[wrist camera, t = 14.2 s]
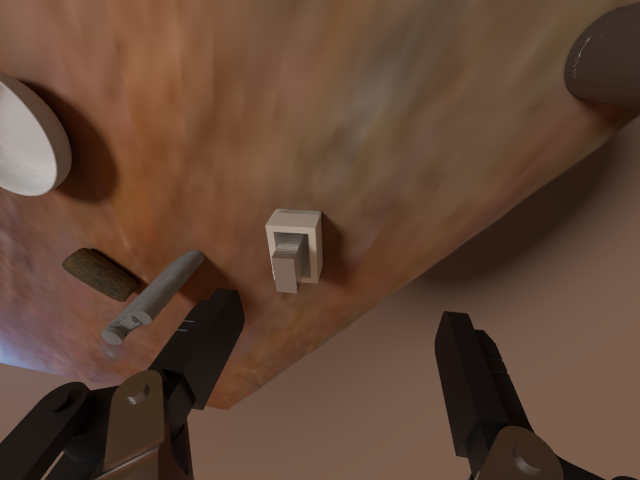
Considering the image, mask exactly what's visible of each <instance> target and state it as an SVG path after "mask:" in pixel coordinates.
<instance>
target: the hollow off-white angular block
mask: <svg viewBox="0 0 640 480" xmlns="http://www.w3.org/2000/svg"><path fill="white" fill-rule="evenodd" d="M266 231H267V237H268V244H269V250H270V256H271V257H272V256H273V254H274V252H275V250H276V248H277V246H278V244H279V242H280V240H281V238H282V236H283V235H284V233H285V232H286V233H302V234H308V246H309V260H308V263H307V266H306V269H305V272H304V275H303V278H302V281H301V282H306V283H317V284H318V281H319V277H320V273H321V269H322V265H323V251H322V219H321V211H308V210H287V209H276V210H275V212H274V213H273V215H272V216H271V218H270V219H269V221H268V222H267V224H266ZM271 263H272V259H271ZM272 269H273V265H272ZM273 275H274V271H273ZM274 280H275V276H274Z"/></svg>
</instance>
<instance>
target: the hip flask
mask: <svg viewBox="0 0 640 480" xmlns="http://www.w3.org/2000/svg"><path fill="white" fill-rule="evenodd" d="M204 260H205V256H204V255H203V253H202V252H200V251H198V250H193V251H191V252H188V253H186V254H184V255H182V256H181V257H179V258H178V259H176V260H175V261H174V262H172V263H171V264H170V265H169V266H168V267H167V268H166V269H165V270H164V271H163V272H162V273H161V274H160V275H159V276H158V277H157V278H156V279H155V280H154V281H153V282H152V283H151V284H150V285H149V286H148V287H147V288H146V289H145V290H144V291H143V292H142V293H141V294H140V295H139V296H138V297H137V298H136V299H135V300H134V301H133V302H132V303H131V304H130V305H129V306H128V307H127V308H126V309H125V310H124V311H123V312H122V313H121V314H120V315H119V316H118V317H117V318H116V319H115V320H114V321H113V322H112V323H111V324H110V325H109V326H108V327H106V328H105V329H104V330H103V331H102V332H101V335H102V338H103V339H104V340H105V341H106V342H108V343H110V344H114V345H115V344H121V343H122V342H123V341H124V340H125V337H126V336H127V335H128V334H129V332H130V331H132V330H134V329H135V328H138V327H140V326H143V325H146V324H149V323H151V322H152V321H153V320H154V319H155V317H156V316H157V315H158V314H159V313H160V311H161V310H162V309H163V308H164V307H165V306H166V304H167V303H168V302H169V301H170V300H171V299H172V297H173V296H174V295H175V294H176V293H177V292H178V290H179V289H180V288H181V287H182V286H183V285H184V283H185V282H186V281H187V280H188V279H189V277H190V276H191V275H192V274H193V273H194V272H195V270H196V269H197V268H198V267H199V266H200V265H201V263H202V262H203V261H204Z"/></svg>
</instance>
